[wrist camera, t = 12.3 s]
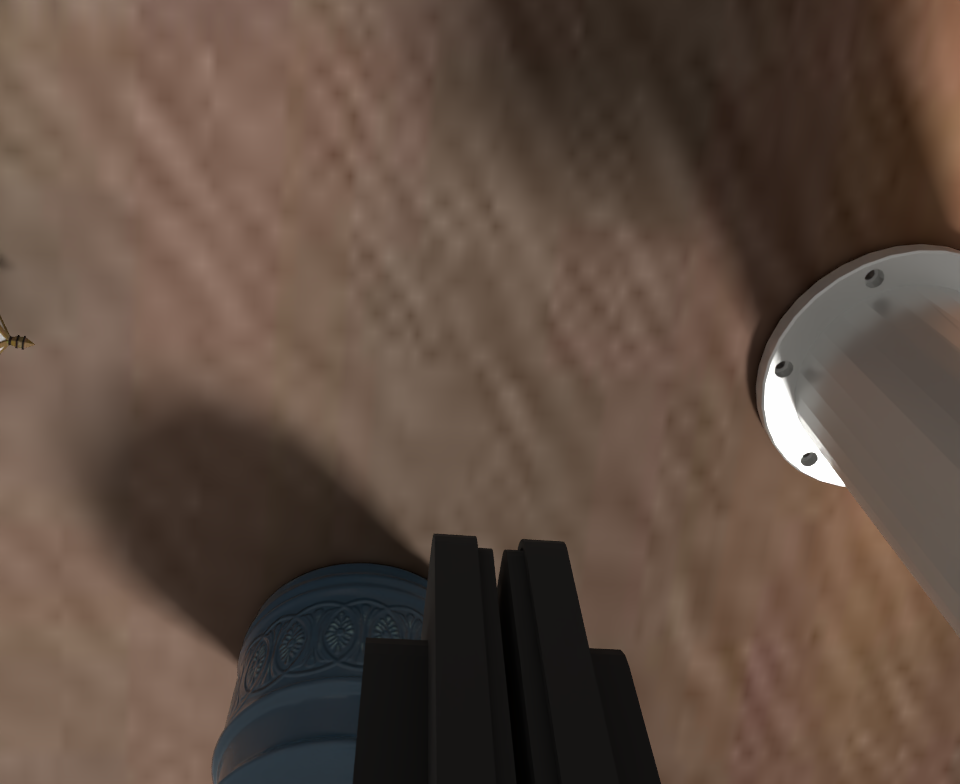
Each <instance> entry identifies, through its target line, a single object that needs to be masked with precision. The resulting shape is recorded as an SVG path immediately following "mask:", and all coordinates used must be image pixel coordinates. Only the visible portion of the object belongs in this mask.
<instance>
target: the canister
mask: <svg viewBox="0 0 960 784" xmlns="http://www.w3.org/2000/svg"><path fill="white" fill-rule="evenodd" d="M427 581H428V580H427V579H425V578H423V577H421V576H419V575H416V574H414V573H411V572H409V571H406V570H403V569H399V568H395V567H391V566H386V565H379V564H368V563H351V564H340V565H334V566H329V567H324V568H320V569H317V570H314V571H311V572H308V573H306V574H303V575H301V576H299V577H297V578H295V579H293V580H291V581H290V582H288V583H287V584H285V585H284V586H282V587H281V588H280V589H278V590H277V591H276V592H275V593H274V594H273V595H271V597H270V598H269V599H268V600H267V601H266V602H265V603H264V605H263V606H262V607H261V609H260V611H259V612H258V614H257V616H256V618H255V620H254V621H253V623H252V624H251V626H250V627H249V630H248V632H247V634H246V636H245V639H244V641H243V645H242V649H241V652H240V656H239V660H238V669H237V676H238V678H237V682H236V686H235V689H234V693H233V697H232V701H231V705H230V709H229V713H228V716H227V720H226V724H225V728H224V731H223V732H222V734H221V735H220V737H219V739H218V741H217V744H216V746H215V749H214V753H213V757H212V780H213V784H352V783H353V772H354V761H355V750H356V739H357V728H358V718H359V707H360V696H361V685H362V674H363V663H364V652H365V642H366V637H369V638H389V639H410V640H421V633H422V625H423V616H424V607H425V599H426V590H427Z"/></svg>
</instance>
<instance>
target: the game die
mask: <svg viewBox="0 0 960 784" xmlns="http://www.w3.org/2000/svg"><path fill="white" fill-rule="evenodd" d="M8 345H12V346H15V348H22V350H23V349H24V348H27V347H30V346H33V345H35V344H34V343H32V342H31V341H30V340H28V339H27V338H26V336H24V337H20V336H19V335H18V336H16V337H11V336H10V335H9V333H8V331H7V329H6V326H5V324H4V322H3V320H2V318H1V316H0V354H1V353H2V351H3V350H4V349H5V348H6V347H7V346H8Z"/></svg>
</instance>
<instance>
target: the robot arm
mask: <svg viewBox="0 0 960 784" xmlns="http://www.w3.org/2000/svg"><path fill="white" fill-rule="evenodd" d="M867 273H868V274H867ZM778 363H779V364H778ZM756 399H757V409H758V413H759V416H760V419H761V422H762V426H763V428H764V430H765V431H766V433H767V435H768V436H769V438H770V440H771V441H772V443H773V445H774V446H775V447H776V449H777V450H778V451H779V452H780V454H781V455H782V456H783V458H784V459H785V460H786V461H787V462H789V463H790V464H791V465H792V466H793V467H794V468H796V469H797V470H798V471H800V472H802V473H804V474H806V475H808V476H810V477H812V478H814V479H816V480H818V481H821V482H825V483H829V484H833V485H837V486H844V487H847V489H848V490H849V491H850V493H851V494H852V495H853V497H854V498H855V499H856V501H857V502H858V503H859V505H860V506H861V507H862V509H863V510H864V511H865V513H866V514H867V515H868V517H869V518H870V519H871V521H872V522H873V523H874V525H875V526H876V527H877V529H878V530H879V531H880V533H881V534H882V535H883V537H884V538H885V539H886V541H887V542H888V543H889V545H890V546H891V547H892V549H893V550H894V551H895V553H896V554H897V555H898V557H899V558H900V559H901V561H902V562H903V563H904V565H905V566H906V567H907V569H908V570H909V571H910V573H911V574H912V575H913V577H914V578H915V579H916V580H917V582H918V583H919V584H920V586H921V587H922V588H923V590H924V591H925V592H926V594H927V595H928V596H929V598H930V599H931V600H932V602H933V603H934V604H935V606H936V607H937V608H938V610H939V611H940V612H941V614H942V615H943V616H944V618H945V619H946V620H947V622H948V623H949V624H950V626H951V627H952V628H953V630H954V631H955V632H956V634H957V635H958V636H959V638H960V251H959V250H956V249H953V248H950V247H947V246H937V245H927V244H916V245H905V246H895V247H891V248H887V249H883V250H880V251H876V252H872V253H868V254H866V255H864V256H862V257H859V258H857V259H855V260H853V261H850V262H848V263H846V264H844V265H842V266H840V267H839V268H837V269H836V270H834V271H832V272H831V273H829V274H828V275H826V276H825V277H823V278H822V279H820V280H818V281H817V282H816V283H815V284H814V285H813V286H812V287H811V288H809V289H808V290H807V291H806V292H805V293H804V294H803V295H802V296H800V297H799V298H798V299H797V300H796V301H795V303H794V304H793V305H792V306H791V307H790V309H789V310H788V311H787V312H786V314H785V315H784V316H783V317H782V318H781V320H780V321H779V323H778V325H777V326H776V328H775V330H774V331H773V333H772V335H771V337H770V338H769V340H768V342H767V344H766V347H765V350H764V353H763V355H762V358H761V361H760V364H759V369H758V375H757V382H756ZM352 784H661V782H660V778H659V775H658V771H657V767H656V764H655V760H654V756H653V753H652V749H651V745H650V742H649V738H648V734H647V731H646V727H645V723H644V720H643V716H642V712H641V709H640V705H639V701H638V697H637V694H636V690H635V686H634V683H633V679H632V675H631V672H630V668H629V665H628V662H627V659H626V657H625V655H624V653H623V652H622V651H621V650H614V649H593V648H589V645H588V641H587V636H586V632H585V627H584V623H583V618H582V614H581V609H580V605H579V600H578V596H577V591H576V587H575V582H574V578H573V573H572V569H571V564H570V560H569V555H568V551H567V547H566V544H565V543H564V542H560V541H544V540H528V539H522V540H521V541H520V543H519V547H518V550H504V552H503V556H502V561H501V567H500V573H499V579H498V585H497V586H496V576H495V566H494V557H493V550H492V549H487V548H478V544H477V538H476V536H463V535H447V534H434V535H433V539H432V547H431V555H430V564H429V573H428V581H427V590H426V599H425V607H424V616H423V625H422V633H421V640H410V639H389V638H369V637H366V642H365V652H364V663H363V674H362V685H361V696H360V707H359V718H358V728H357V739H356V750H355V761H354V772H353V783H352Z"/></svg>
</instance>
